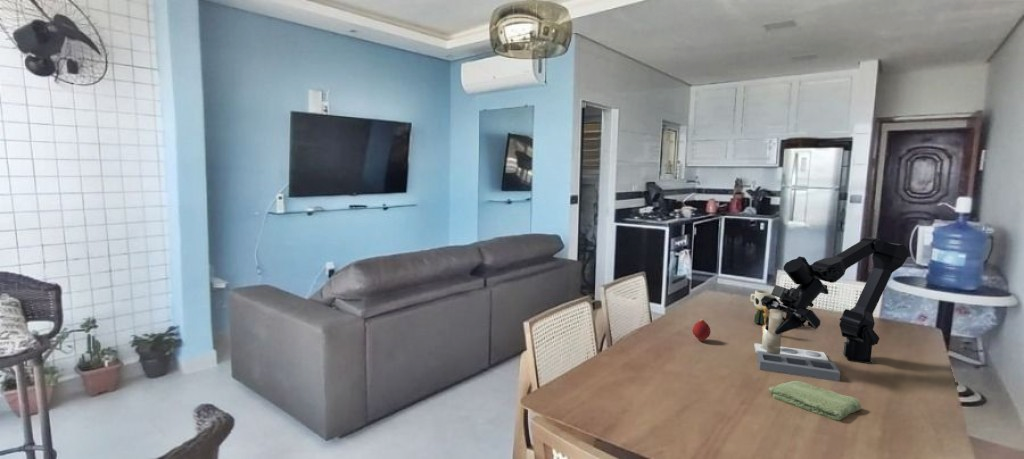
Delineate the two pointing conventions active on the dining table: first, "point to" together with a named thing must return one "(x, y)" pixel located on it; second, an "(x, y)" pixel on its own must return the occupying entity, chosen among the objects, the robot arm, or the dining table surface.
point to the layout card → (790, 350)
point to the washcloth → (816, 399)
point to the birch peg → (773, 338)
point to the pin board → (798, 366)
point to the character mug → (760, 305)
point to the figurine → (764, 314)
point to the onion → (701, 330)
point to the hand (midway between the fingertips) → (771, 331)
